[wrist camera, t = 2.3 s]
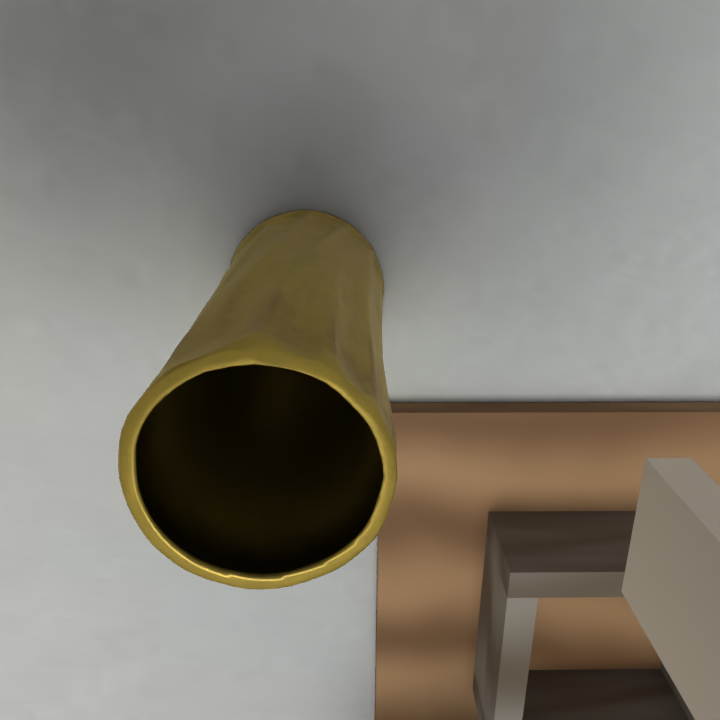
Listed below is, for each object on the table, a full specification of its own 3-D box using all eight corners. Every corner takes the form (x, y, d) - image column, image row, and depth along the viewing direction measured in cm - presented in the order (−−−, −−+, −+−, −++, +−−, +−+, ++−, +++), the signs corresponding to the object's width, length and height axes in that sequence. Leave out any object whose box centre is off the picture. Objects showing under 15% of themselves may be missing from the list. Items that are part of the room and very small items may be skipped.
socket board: (379, 402, 27) (386, 462, 22) (890, 401, 27) (1002, 460, 23) (372, 815, 36) (376, 919, 31) (753, 811, 36) (812, 912, 32)
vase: (414, 294, 25) (487, 491, 12) (302, 387, 27) (254, 658, 13) (311, 175, 24) (259, 249, 10) (197, 281, 25) (20, 468, 12)
